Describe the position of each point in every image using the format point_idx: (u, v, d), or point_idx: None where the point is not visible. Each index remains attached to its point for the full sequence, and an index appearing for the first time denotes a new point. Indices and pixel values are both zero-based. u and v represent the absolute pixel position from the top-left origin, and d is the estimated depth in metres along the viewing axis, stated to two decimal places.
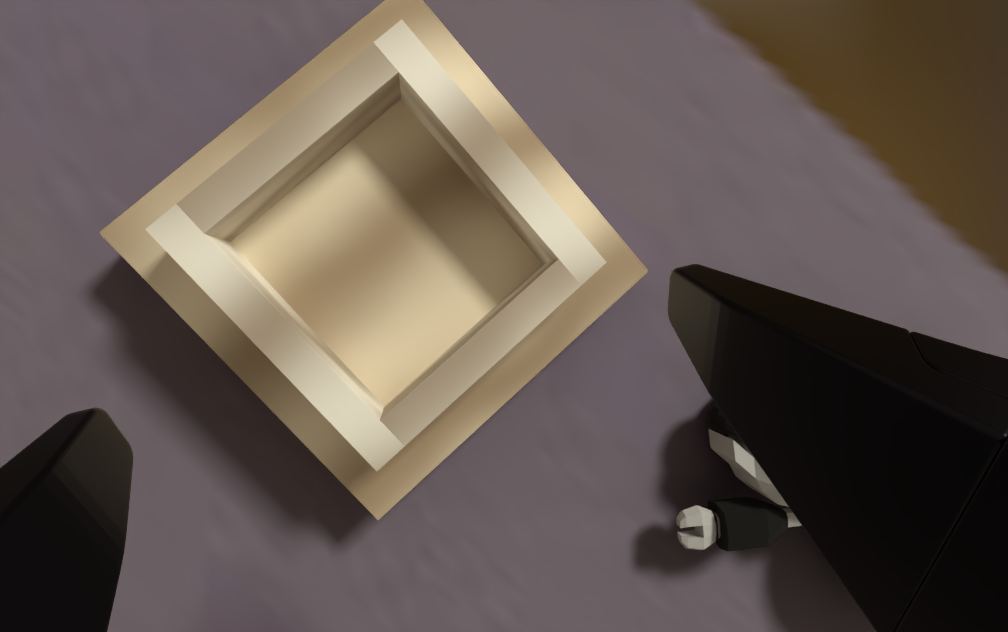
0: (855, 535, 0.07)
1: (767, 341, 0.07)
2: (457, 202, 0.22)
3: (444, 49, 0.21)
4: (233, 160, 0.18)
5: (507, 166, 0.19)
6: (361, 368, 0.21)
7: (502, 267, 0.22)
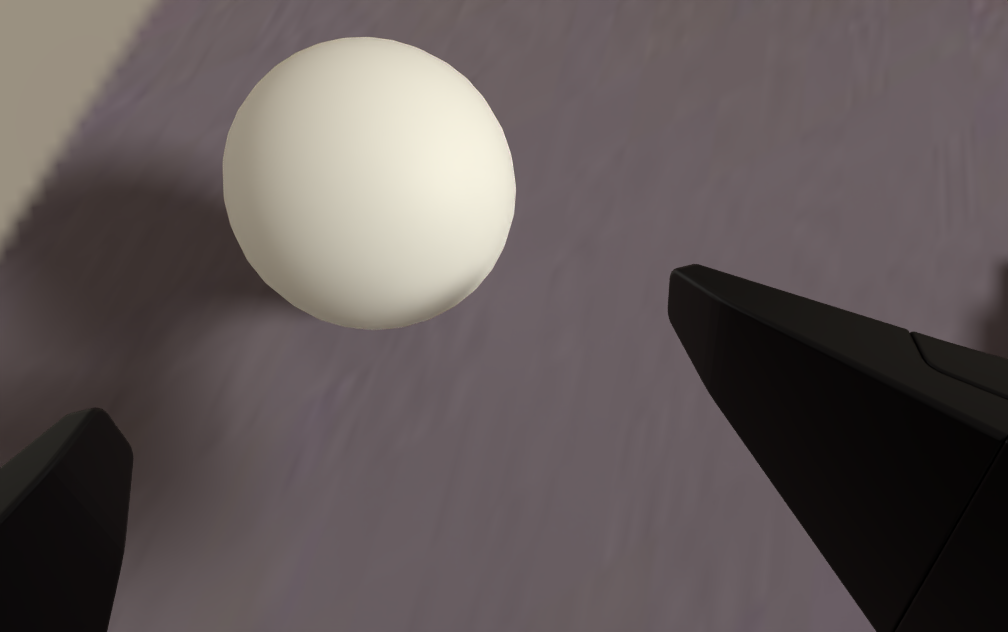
0: (855, 535, 0.07)
1: (767, 341, 0.07)
2: None
3: None
4: None
5: None
6: None
7: None
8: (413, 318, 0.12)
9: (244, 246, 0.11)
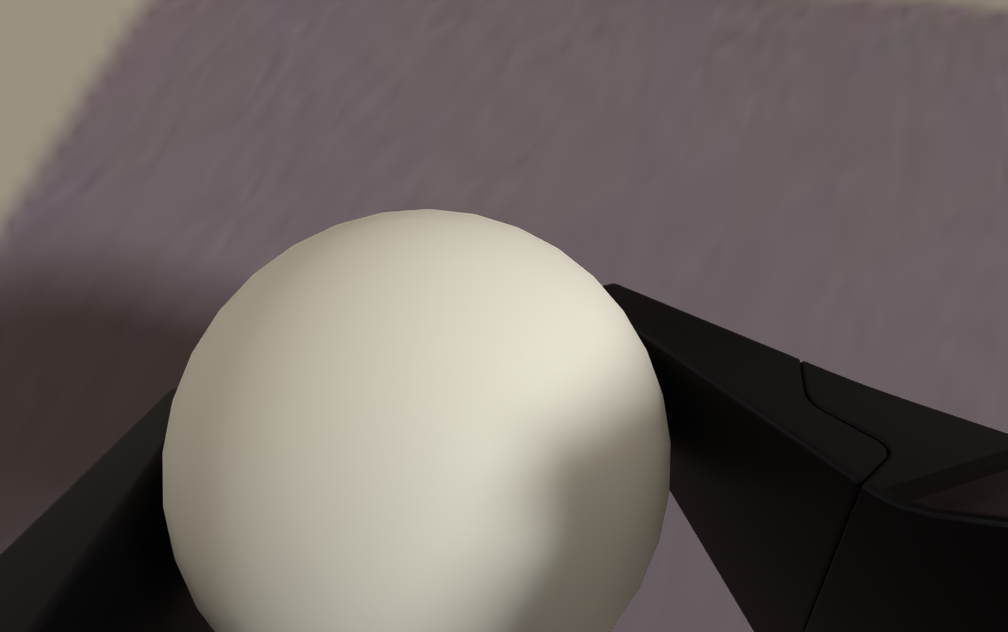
0: (750, 568, 0.07)
1: (666, 367, 0.07)
2: None
3: None
4: None
5: None
6: None
7: None
8: None
9: None
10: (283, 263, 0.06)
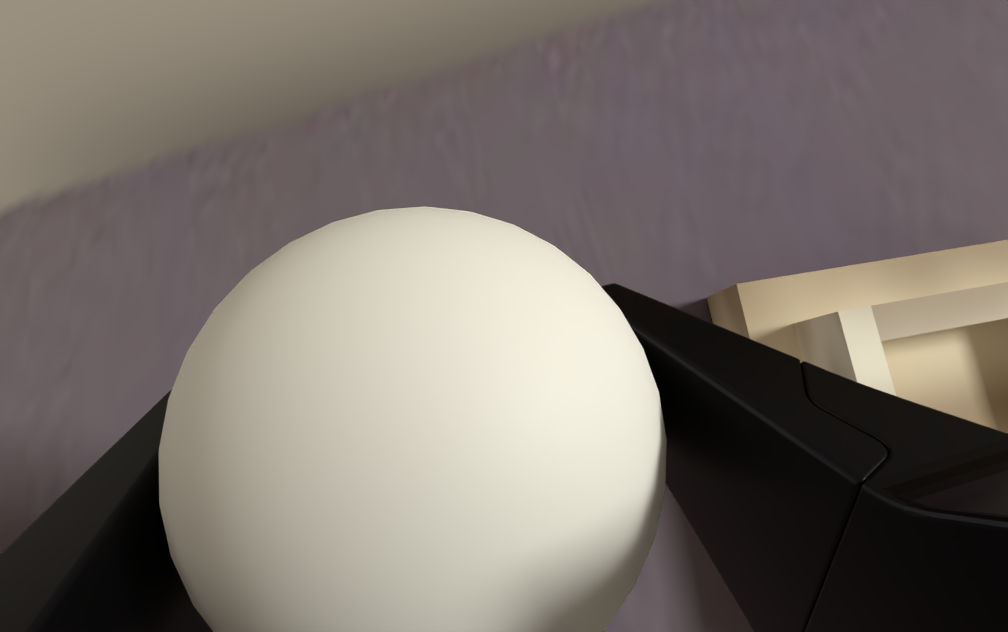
0: (751, 569, 0.07)
1: (666, 367, 0.07)
2: None
3: None
4: (930, 297, 0.19)
5: None
6: None
7: None
8: None
9: None
10: (279, 260, 0.06)
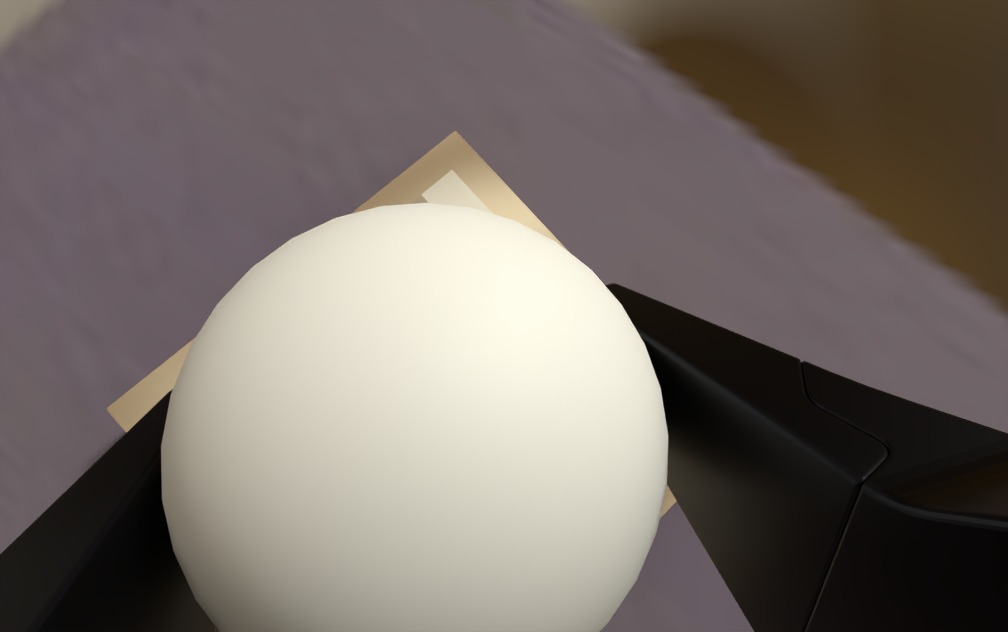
0: (751, 569, 0.07)
1: (666, 368, 0.07)
2: None
3: (495, 196, 0.20)
4: None
5: None
6: None
7: None
8: None
9: None
10: (281, 256, 0.06)
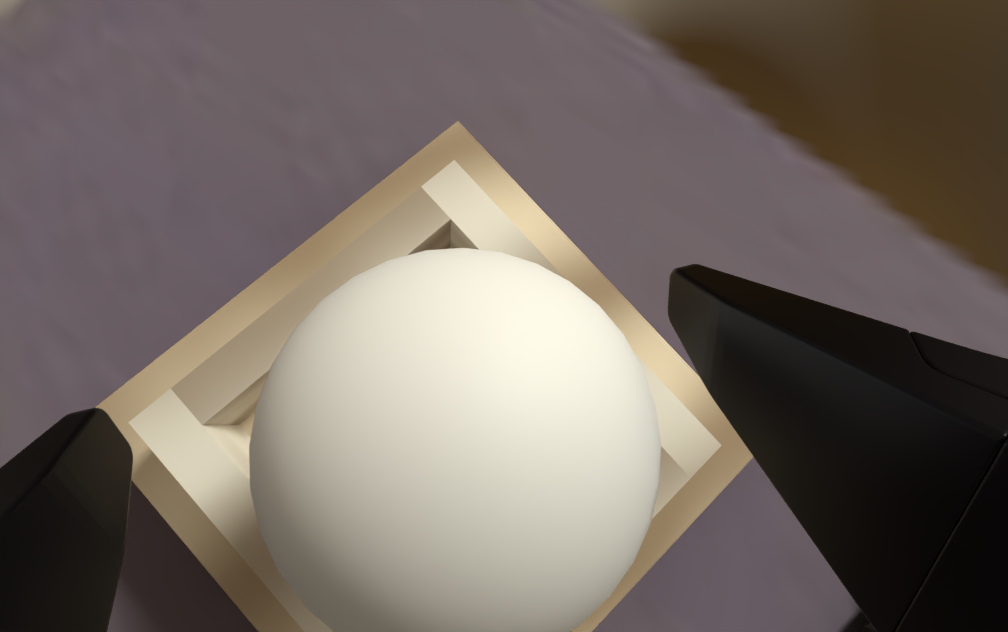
0: (855, 535, 0.07)
1: (767, 341, 0.07)
2: None
3: (500, 190, 0.18)
4: (246, 331, 0.14)
5: None
6: None
7: None
8: None
9: (281, 575, 0.08)
10: (351, 295, 0.08)
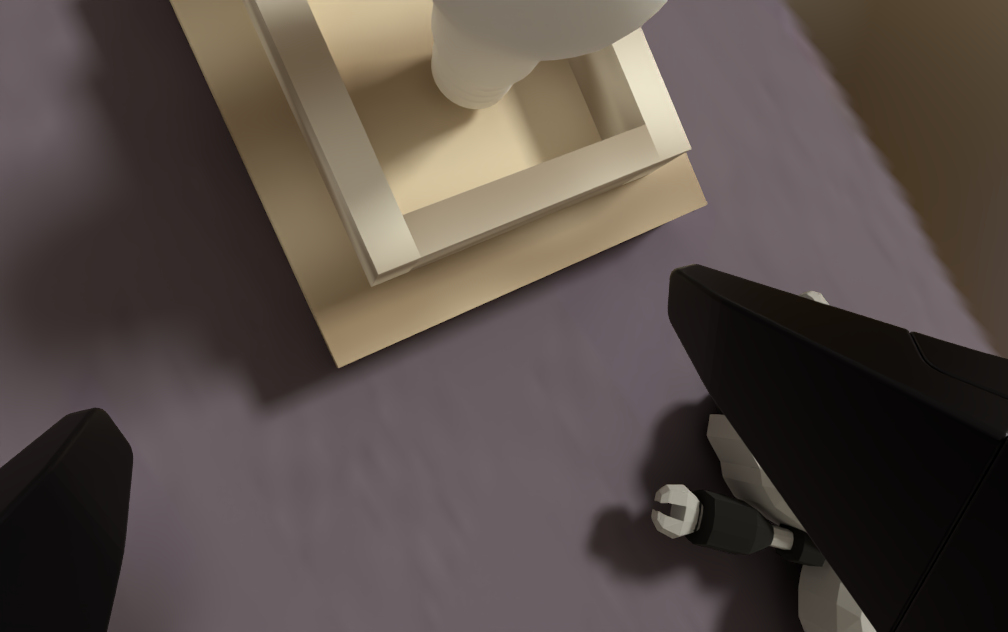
0: (855, 535, 0.07)
1: (767, 341, 0.07)
2: None
3: None
4: None
5: None
6: None
7: (565, 139, 0.19)
8: (556, 27, 0.10)
9: None
10: None
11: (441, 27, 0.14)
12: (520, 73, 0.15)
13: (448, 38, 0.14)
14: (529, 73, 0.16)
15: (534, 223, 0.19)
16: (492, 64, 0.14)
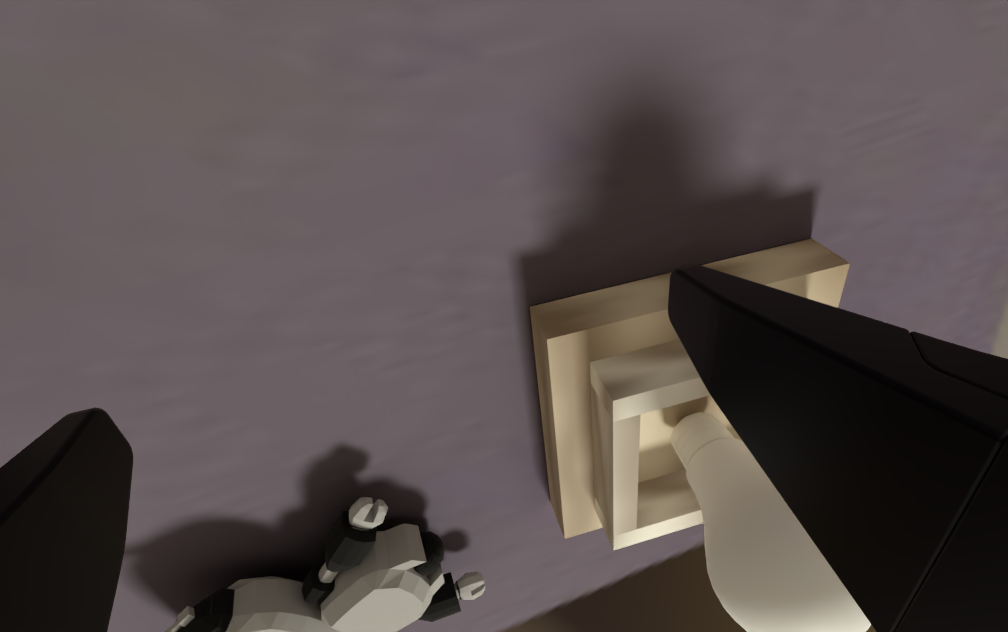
0: (855, 535, 0.07)
1: (767, 341, 0.07)
2: None
3: None
4: None
5: (699, 518, 0.29)
6: None
7: None
8: (733, 570, 0.21)
9: None
10: None
11: (734, 460, 0.24)
12: (693, 486, 0.26)
13: (728, 463, 0.24)
14: None
15: (591, 450, 0.28)
16: (707, 484, 0.24)
